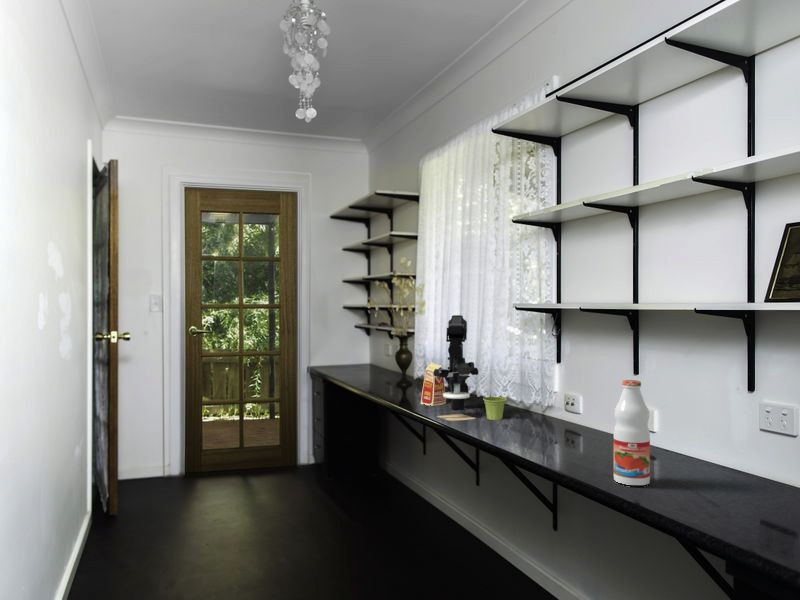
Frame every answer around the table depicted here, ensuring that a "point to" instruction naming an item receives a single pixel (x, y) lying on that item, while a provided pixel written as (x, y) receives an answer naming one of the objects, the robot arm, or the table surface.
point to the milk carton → (433, 387)
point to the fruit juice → (631, 437)
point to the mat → (456, 417)
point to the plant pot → (494, 407)
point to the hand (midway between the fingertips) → (456, 392)
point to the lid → (456, 393)
